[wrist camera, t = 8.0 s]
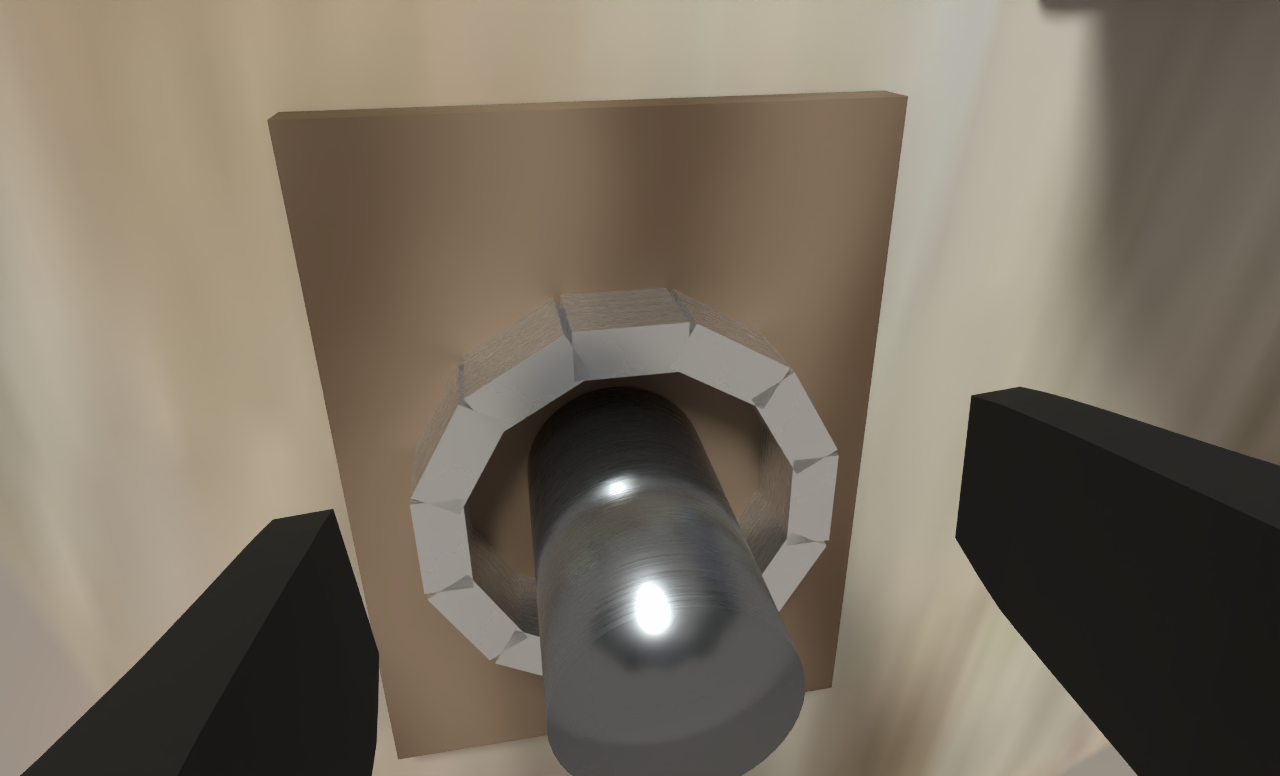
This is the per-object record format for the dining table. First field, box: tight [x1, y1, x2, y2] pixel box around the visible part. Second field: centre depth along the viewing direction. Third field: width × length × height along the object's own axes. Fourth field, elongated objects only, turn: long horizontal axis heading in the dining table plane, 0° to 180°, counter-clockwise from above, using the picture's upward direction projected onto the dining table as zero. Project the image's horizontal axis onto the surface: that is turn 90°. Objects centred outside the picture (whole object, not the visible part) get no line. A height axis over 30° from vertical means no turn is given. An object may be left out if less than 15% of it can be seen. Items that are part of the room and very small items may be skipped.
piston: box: [527, 387, 805, 776], centre depth 15 cm, size 4×4×7 cm
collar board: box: [267, 91, 908, 759], centre depth 18 cm, size 12×16×3 cm
